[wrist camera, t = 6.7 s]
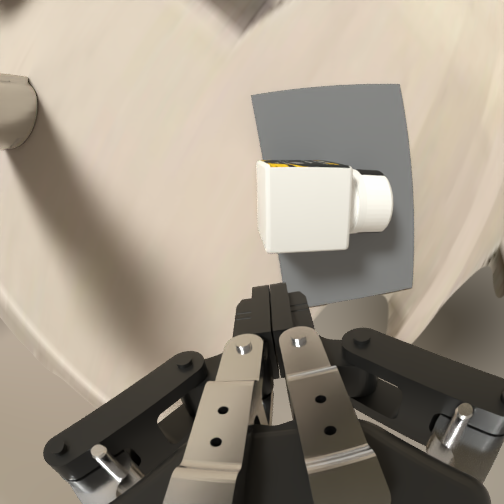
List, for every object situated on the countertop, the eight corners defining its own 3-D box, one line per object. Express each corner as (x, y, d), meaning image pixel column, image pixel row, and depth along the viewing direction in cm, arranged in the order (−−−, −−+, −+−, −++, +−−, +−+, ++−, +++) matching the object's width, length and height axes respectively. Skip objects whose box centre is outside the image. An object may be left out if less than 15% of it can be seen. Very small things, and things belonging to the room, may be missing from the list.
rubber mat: (251, 95, 27) (250, 95, 27) (398, 84, 26) (399, 84, 25) (286, 308, 35) (286, 310, 35) (411, 286, 34) (412, 287, 33)
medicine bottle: (255, 160, 28) (368, 162, 29) (257, 230, 31) (365, 226, 32) (265, 164, 22) (404, 169, 23) (266, 255, 24) (397, 248, 25)
